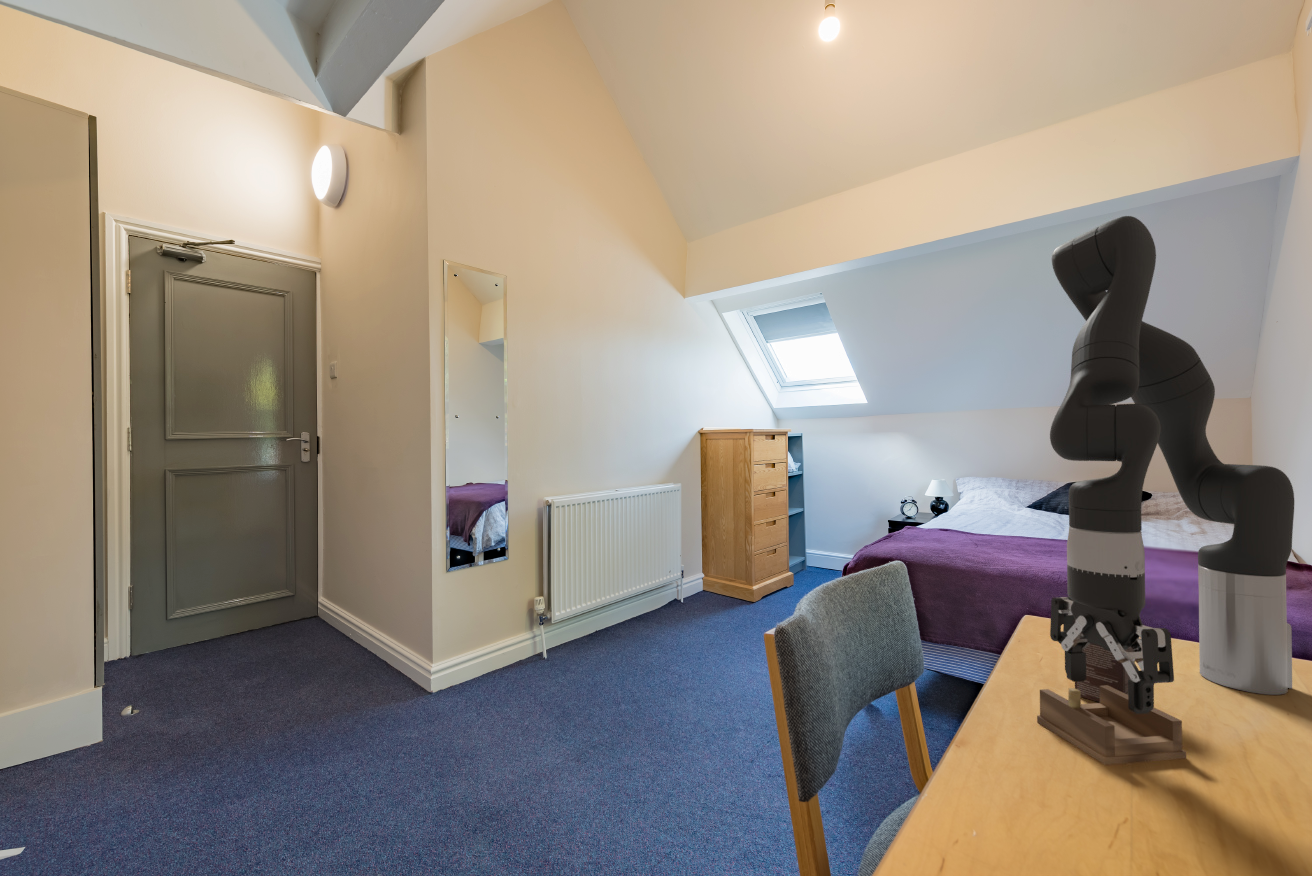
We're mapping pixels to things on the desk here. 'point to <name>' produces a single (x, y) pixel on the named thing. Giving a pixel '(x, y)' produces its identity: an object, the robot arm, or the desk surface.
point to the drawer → (1111, 727)
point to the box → (1102, 672)
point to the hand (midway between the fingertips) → (1106, 695)
